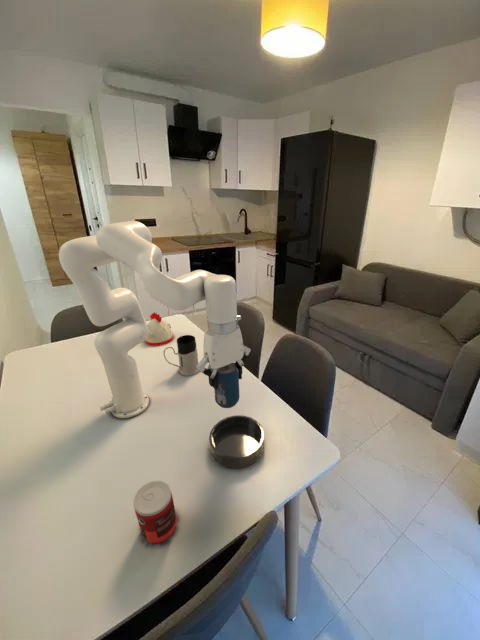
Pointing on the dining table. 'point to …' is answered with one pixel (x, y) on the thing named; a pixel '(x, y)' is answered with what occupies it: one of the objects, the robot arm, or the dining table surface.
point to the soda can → (227, 386)
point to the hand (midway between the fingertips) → (226, 381)
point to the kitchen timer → (158, 331)
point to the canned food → (155, 511)
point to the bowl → (236, 441)
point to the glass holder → (186, 355)
